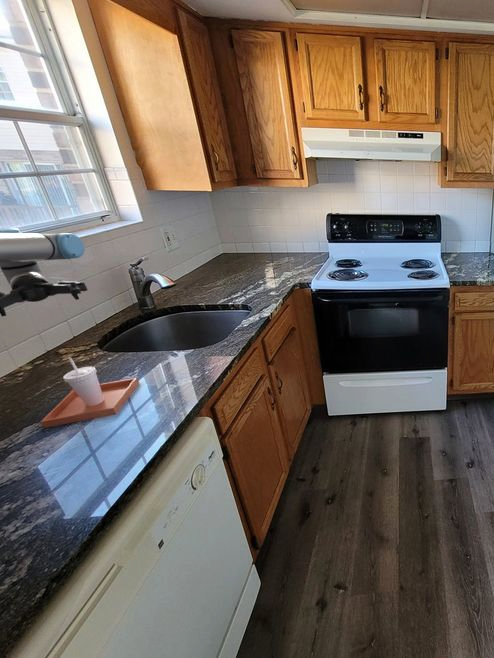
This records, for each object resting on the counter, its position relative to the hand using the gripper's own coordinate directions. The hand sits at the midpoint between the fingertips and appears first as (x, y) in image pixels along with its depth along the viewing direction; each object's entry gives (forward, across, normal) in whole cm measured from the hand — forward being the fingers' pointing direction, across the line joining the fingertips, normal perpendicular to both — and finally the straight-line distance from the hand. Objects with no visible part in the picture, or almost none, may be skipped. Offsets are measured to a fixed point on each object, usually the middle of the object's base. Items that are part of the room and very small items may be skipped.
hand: (40, 302), depth 94 cm
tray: (+10, 0, -28) cm, 30 cm away
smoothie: (+10, 0, -28) cm, 29 cm away
